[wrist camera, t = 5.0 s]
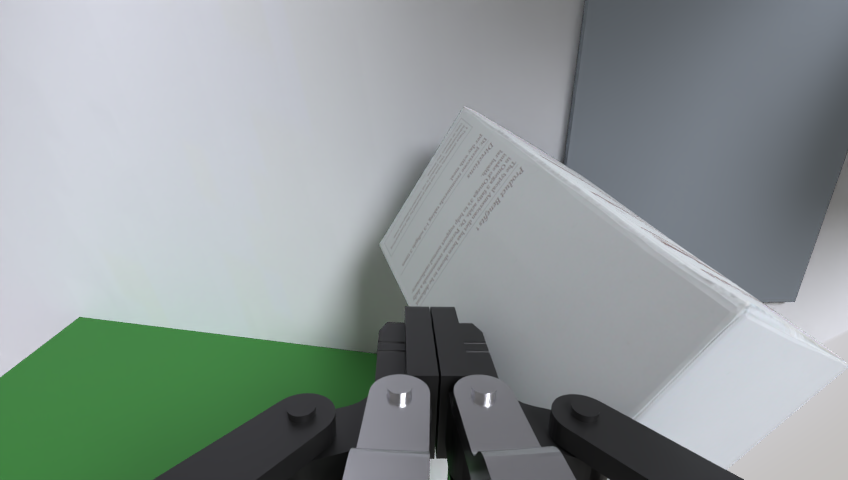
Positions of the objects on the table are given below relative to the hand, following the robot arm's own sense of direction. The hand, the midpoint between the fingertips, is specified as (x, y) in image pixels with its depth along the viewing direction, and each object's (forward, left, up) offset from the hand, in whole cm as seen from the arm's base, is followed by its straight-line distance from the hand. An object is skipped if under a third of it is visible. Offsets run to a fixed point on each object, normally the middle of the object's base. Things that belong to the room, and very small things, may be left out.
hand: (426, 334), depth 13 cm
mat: (-3, +14, -10) cm, 18 cm away
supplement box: (-2, +3, -9) cm, 9 cm away
